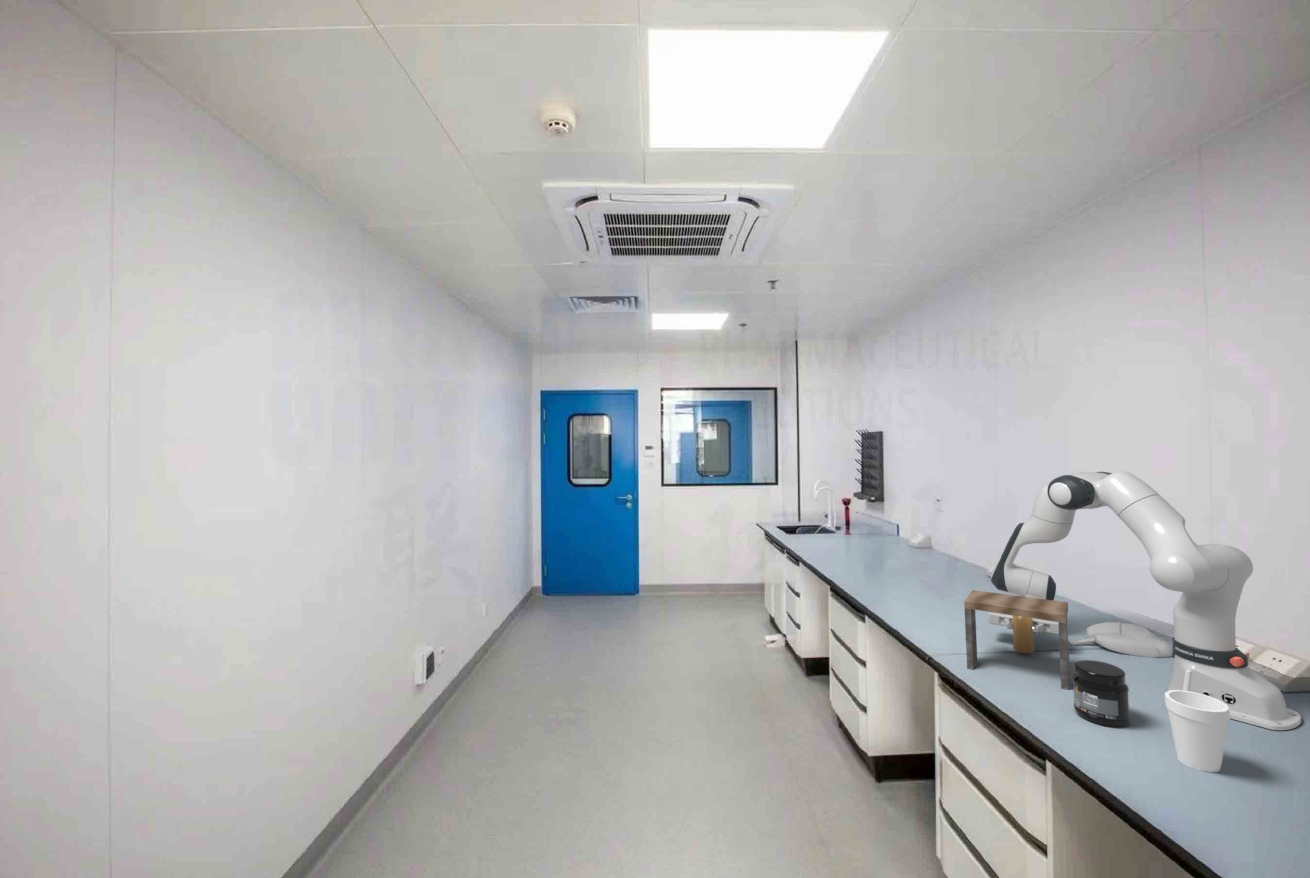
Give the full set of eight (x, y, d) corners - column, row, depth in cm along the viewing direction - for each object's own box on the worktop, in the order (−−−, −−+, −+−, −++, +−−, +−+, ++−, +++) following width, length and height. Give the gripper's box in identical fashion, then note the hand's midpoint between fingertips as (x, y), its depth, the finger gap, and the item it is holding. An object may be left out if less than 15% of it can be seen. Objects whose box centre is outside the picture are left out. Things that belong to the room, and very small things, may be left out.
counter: (1070, 671, 155) (1067, 602, 155) (1068, 689, 144) (1065, 615, 144) (975, 652, 170) (972, 590, 170) (967, 668, 159) (964, 601, 160)
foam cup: (1197, 748, 116) (1194, 689, 116) (1245, 775, 107) (1243, 710, 107) (1155, 751, 116) (1152, 691, 116) (1199, 778, 107) (1197, 713, 107)
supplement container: (1120, 710, 133) (1118, 662, 133) (1137, 732, 123) (1135, 680, 123) (1068, 703, 137) (1066, 656, 137) (1081, 723, 128) (1079, 673, 128)
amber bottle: (1037, 651, 166) (1035, 607, 167) (1027, 654, 164) (1025, 610, 164) (1020, 645, 171) (1018, 603, 171) (1010, 648, 169) (1008, 605, 169)
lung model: (1182, 659, 160) (1088, 664, 165) (1141, 638, 177) (1057, 643, 182) (1178, 637, 160) (1085, 642, 165) (1138, 618, 177) (1054, 623, 182)
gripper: (989, 601, 184) (983, 612, 174) (1064, 611, 171) (1062, 624, 161) (990, 619, 184) (984, 632, 174) (1065, 631, 171) (1063, 645, 161)
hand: (1022, 628), depth 167 cm, fingers closed on amber bottle, 5 cm apart
